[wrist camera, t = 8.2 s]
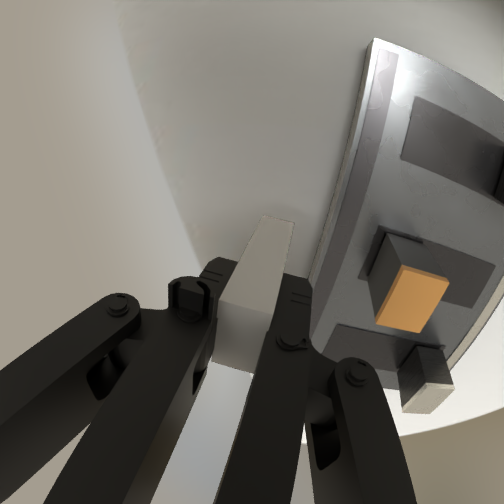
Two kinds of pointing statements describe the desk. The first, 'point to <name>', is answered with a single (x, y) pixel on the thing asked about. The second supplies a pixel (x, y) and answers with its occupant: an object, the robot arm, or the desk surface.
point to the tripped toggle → (405, 284)
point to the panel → (414, 220)
